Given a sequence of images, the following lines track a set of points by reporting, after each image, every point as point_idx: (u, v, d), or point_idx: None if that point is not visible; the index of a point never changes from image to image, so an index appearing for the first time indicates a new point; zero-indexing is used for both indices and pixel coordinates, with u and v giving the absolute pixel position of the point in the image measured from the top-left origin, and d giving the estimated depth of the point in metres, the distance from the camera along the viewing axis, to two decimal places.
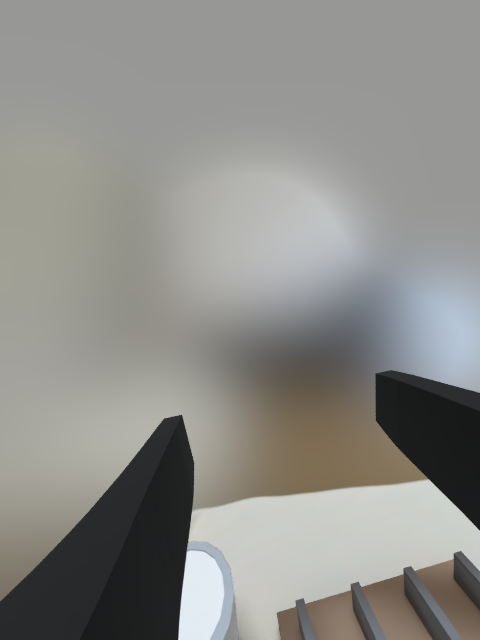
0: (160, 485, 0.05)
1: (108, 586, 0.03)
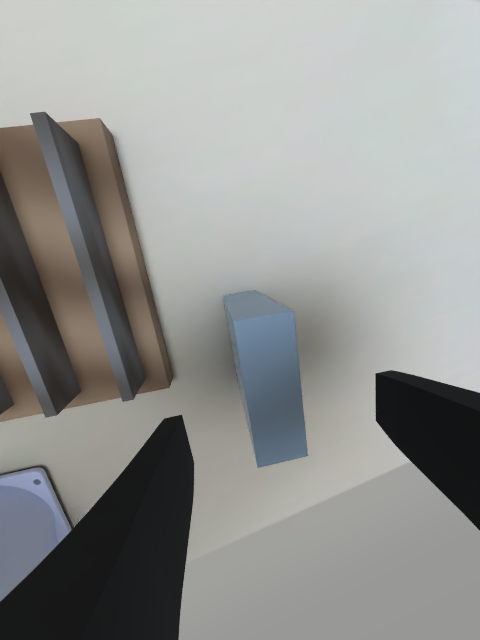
0: (160, 485, 0.05)
1: (108, 586, 0.03)
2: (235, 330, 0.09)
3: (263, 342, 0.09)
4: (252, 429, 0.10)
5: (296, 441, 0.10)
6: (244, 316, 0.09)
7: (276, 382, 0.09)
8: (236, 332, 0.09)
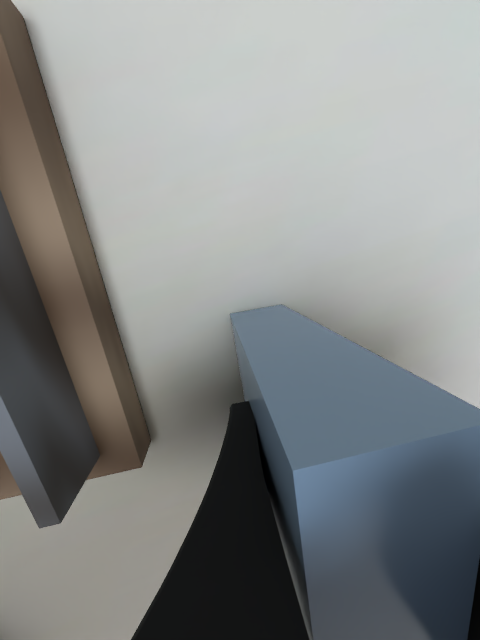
0: None
1: (278, 541, 0.03)
2: (297, 494, 0.02)
3: (388, 520, 0.03)
4: None
5: None
6: (315, 423, 0.03)
7: (407, 613, 0.03)
8: (301, 502, 0.02)
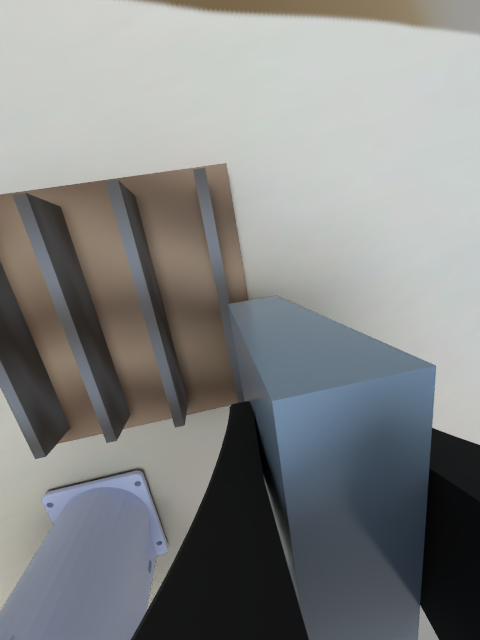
0: (260, 461, 0.05)
1: (278, 541, 0.03)
2: (276, 422, 0.03)
3: (349, 448, 0.03)
4: (306, 630, 0.04)
5: (397, 636, 0.05)
6: (294, 374, 0.04)
7: (370, 533, 0.04)
8: (279, 428, 0.03)
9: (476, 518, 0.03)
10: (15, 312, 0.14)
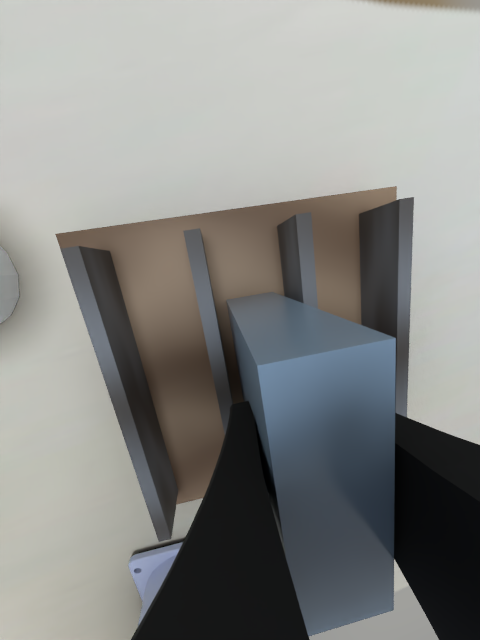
0: None
1: (278, 540, 0.03)
2: (261, 384, 0.04)
3: (324, 409, 0.04)
4: None
5: (375, 588, 0.05)
6: (278, 348, 0.04)
7: (345, 487, 0.04)
8: (264, 389, 0.04)
9: (476, 518, 0.03)
10: (138, 363, 0.11)
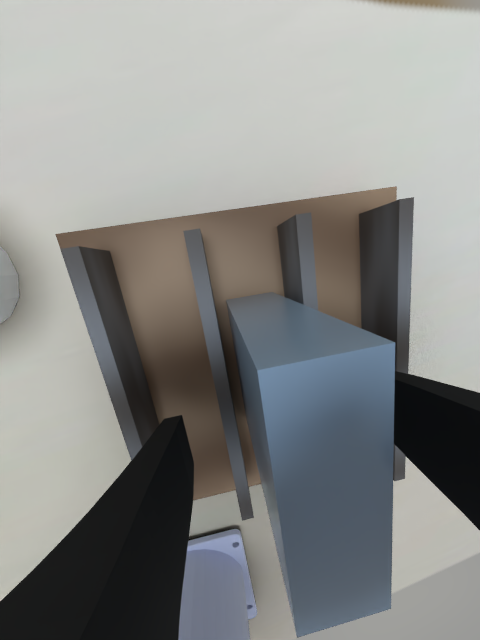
0: (160, 485, 0.05)
1: (108, 586, 0.03)
2: (261, 389, 0.04)
3: (324, 413, 0.04)
4: (290, 577, 0.05)
5: (373, 588, 0.05)
6: (278, 352, 0.04)
7: (343, 489, 0.04)
8: (264, 394, 0.04)
9: None
10: (138, 363, 0.11)
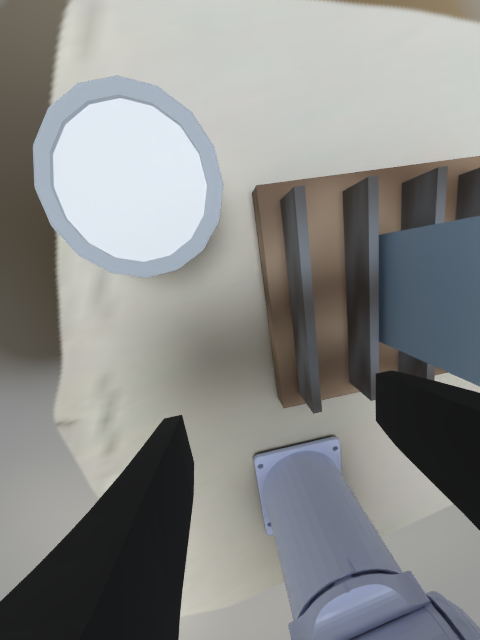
0: (160, 485, 0.05)
1: (108, 586, 0.03)
2: None
3: None
4: None
5: None
6: None
7: None
8: None
9: None
10: None
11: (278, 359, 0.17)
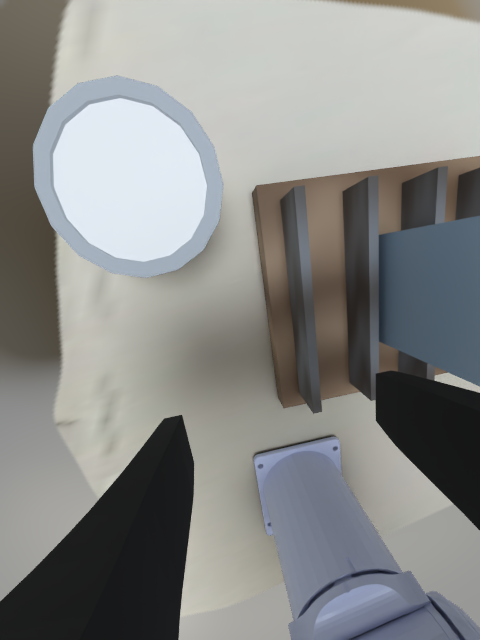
0: (160, 485, 0.05)
1: (108, 586, 0.03)
2: None
3: None
4: None
5: None
6: None
7: None
8: None
9: None
10: None
11: (278, 359, 0.17)
